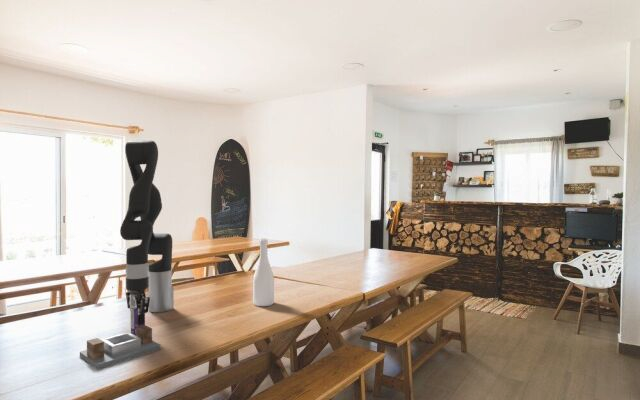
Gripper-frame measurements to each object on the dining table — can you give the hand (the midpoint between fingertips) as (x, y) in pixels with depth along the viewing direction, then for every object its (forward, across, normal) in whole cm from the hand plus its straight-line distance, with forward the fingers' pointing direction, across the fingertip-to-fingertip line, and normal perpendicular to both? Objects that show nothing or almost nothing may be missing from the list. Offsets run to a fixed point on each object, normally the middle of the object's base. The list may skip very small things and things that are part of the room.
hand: (137, 322), depth 140 cm
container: (+5, 0, 0) cm, 5 cm away
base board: (+4, -12, +11) cm, 17 cm away
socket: (+3, -12, +11) cm, 17 cm away
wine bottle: (+5, -6, -55) cm, 56 cm away
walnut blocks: (+3, -12, +11) cm, 17 cm away
